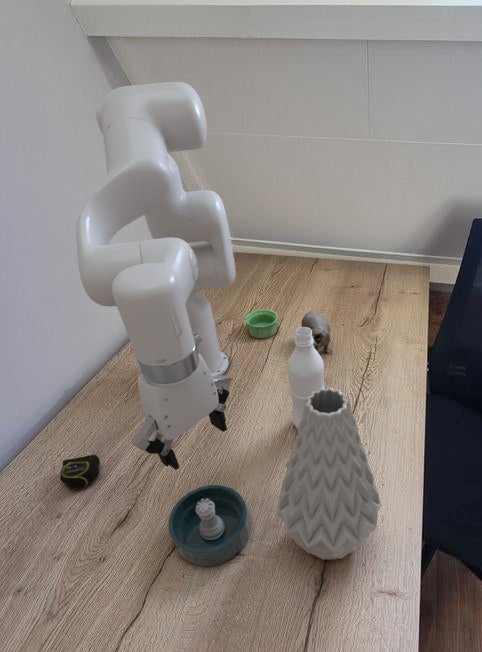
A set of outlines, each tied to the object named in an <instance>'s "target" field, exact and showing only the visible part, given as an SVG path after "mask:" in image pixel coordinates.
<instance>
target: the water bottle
mask: <svg viewBox="0 0 482 652" xmlns="http://www.w3.org/2000/svg"><path fill="white" fill-rule="evenodd" d="M313 343H314V340H313V337H312V330H311V329H310V328H308V327H302V326H301V327H298V328H297V329H296V330H295V339H294V345H295V348H294V350H293V351H292V353H291V355H290V357H289V359H288V362H287V372H288V373H287V374H288V382H289V386H288V389H289V395H290V398H291V400H292V410H291V420H292V423H293V425H294V427H295V428H296V430H298V426H299V423H300V422H301V419H302V413H303V410H304V407H305V405H306V397H309V396H311V392H312V391H318V390H319V389H320V388H323V389H325V381H324V376H325V375H324V371H325V364H324V361H323V358H322V356H321V355H320V353H319V352H318V351H316V349H315V348H314V346H313Z"/></svg>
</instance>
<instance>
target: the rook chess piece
mask: <svg viewBox="0 0 482 652" xmlns="http://www.w3.org/2000/svg"><path fill="white" fill-rule="evenodd" d="M196 513H197V514H198V515H199V517H200V518H201V523H200V527H199V530H200V534H201V536H202V537H203V538H204V539H207V540H214V539H216V538H218V537H220V536H221V535H222V534H223V532H224V529H225V525H224V522H223V520H222V519H221V518H220V517H219V516H217V515H215V505H214V503H213V502H212V501H210V500H209V499H207V498H206V500H204V499H201V502H199V501H198V503H197V506H196Z"/></svg>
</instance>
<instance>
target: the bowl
mask: <svg viewBox="0 0 482 652" xmlns="http://www.w3.org/2000/svg"><path fill="white" fill-rule="evenodd" d="M206 498H207V499H209V500H210V501H212V502H213V503H214V505H215V515H217V516H219V517H220V518H221V519H222V520H223V522H224V525H225V529H224V532H223V534H222V535H221V536H220V537H218V538H216V539H214V540H207V539H204V538H203V537H202V536H201V534H200V530H199V527H200V523H201V518H200V517H199V515H198V514H197V513H196V506H197V503H198V501H199V502H201V499H204V500H206ZM249 517H250V516H249V513H248V509H247V503H246V502H245V500H244V498H243V497H242V496H241V494H240V493H239V492H237V491H236V490H234V489H233V488H231V487H229V486H225V485H221V484H209V485H204V486H200V487H197V488H194V489H193V490H191V491H189V492H187V493H186V494H185V495H184V496H182V497H181V498H180V499H179V500H178V501H177V502H176V503H175V505H174V506H173V508H172V509H171V513H170V515H169V518H168V534H169V535H170V537H171V539H172V542H173V543H174V546H175V548H176V550H177V552H178V555H180V556H181V557H182V558H183V560H185V561H186V562H187V563H191V564H192V565H195V566H200V567H213V566H216V565H221V564H223V563H225V562H228V561H229V560H231V559H232V558H234V557H235V556H237V555H238V554H239V552H240V551H241V550H242V549H243V548H244V546H245V545H246V543H247V540H248V539H249V537H250V530H251V523H250V518H249Z"/></svg>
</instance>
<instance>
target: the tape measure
mask: <svg viewBox="0 0 482 652" xmlns="http://www.w3.org/2000/svg"><path fill="white" fill-rule="evenodd" d="M100 463H101V460H100V458H99V456H98V455H97V454H89V455H85V456H81V457H75V458H68V459H64V460H62V467H61V469H60V477H59V478H60V480H59V481H61V483H63V484H65V486H67V487H68V488H70V489H75V490H77V489H82V488H86V487H87V486H90V485H91V484H92V483H94V482H95V481H96V479H97V478H98V476H99V473H100V469H99V466H100Z"/></svg>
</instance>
